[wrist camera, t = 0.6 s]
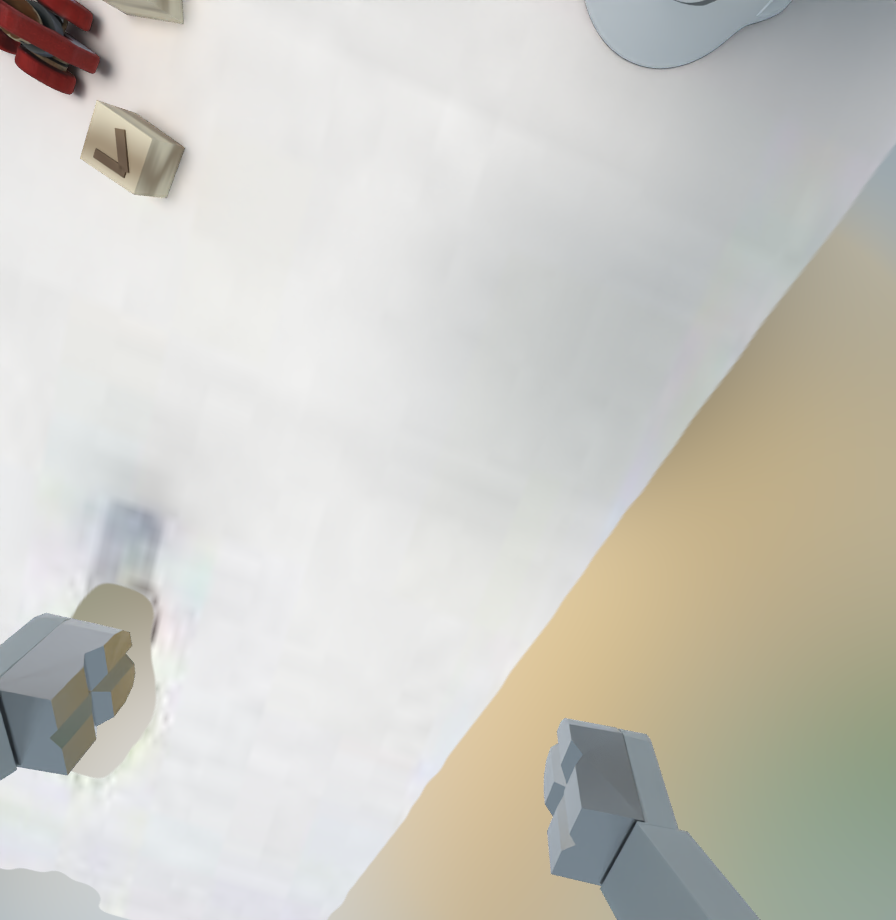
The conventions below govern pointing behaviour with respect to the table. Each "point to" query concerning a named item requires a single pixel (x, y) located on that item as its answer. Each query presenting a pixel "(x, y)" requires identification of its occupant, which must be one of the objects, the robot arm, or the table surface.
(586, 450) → the table surface
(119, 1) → the maple cube one
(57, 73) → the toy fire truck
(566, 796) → the robot arm
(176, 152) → the maple cube seven
